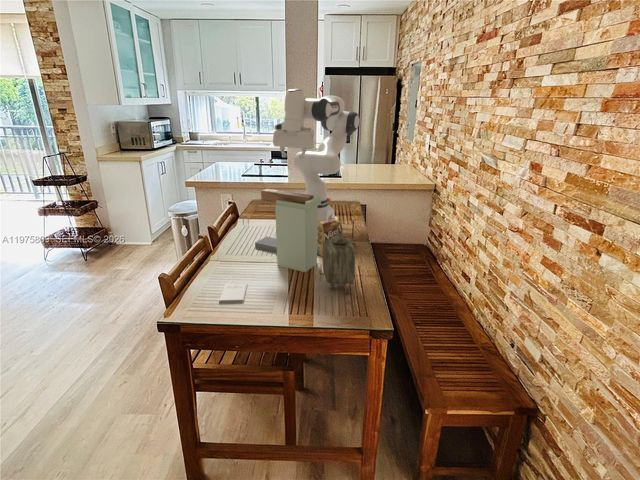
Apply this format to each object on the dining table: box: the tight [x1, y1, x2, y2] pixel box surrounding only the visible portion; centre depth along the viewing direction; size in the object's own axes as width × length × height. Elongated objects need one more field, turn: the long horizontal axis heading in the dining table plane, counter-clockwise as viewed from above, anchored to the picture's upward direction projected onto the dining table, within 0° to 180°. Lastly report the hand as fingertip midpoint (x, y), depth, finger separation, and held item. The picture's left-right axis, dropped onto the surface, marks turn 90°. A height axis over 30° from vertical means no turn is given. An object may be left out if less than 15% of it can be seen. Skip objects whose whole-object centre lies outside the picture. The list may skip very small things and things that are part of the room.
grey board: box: [254, 236, 277, 253], centre depth 169 cm, size 9×28×2 cm, turn 61°
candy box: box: [317, 218, 340, 257], centre depth 164 cm, size 9×4×15 cm, turn 123°
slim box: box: [260, 188, 314, 204], centre depth 147 cm, size 4×22×4 cm, turn 61°
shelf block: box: [274, 196, 321, 273], centre depth 149 cm, size 10×15×29 cm, turn 61°
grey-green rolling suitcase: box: [322, 221, 356, 295], centre depth 132 cm, size 14×9×25 cm, turn 8°
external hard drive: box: [218, 282, 248, 304], centre depth 132 cm, size 2×8×12 cm
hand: (292, 158), depth 172 cm, fingers open, 8 cm apart
